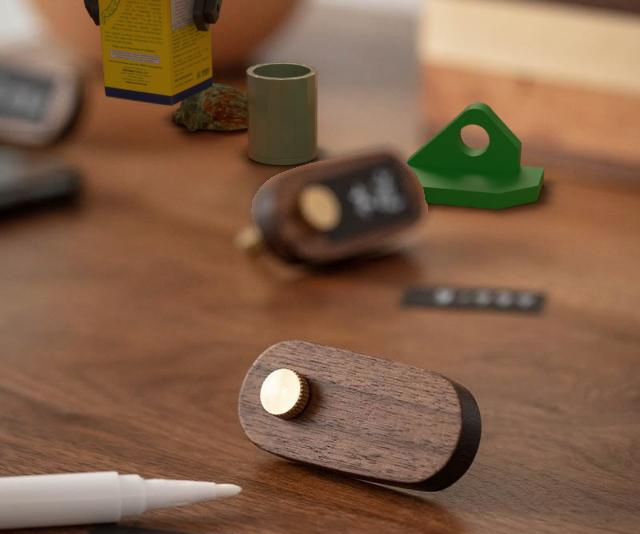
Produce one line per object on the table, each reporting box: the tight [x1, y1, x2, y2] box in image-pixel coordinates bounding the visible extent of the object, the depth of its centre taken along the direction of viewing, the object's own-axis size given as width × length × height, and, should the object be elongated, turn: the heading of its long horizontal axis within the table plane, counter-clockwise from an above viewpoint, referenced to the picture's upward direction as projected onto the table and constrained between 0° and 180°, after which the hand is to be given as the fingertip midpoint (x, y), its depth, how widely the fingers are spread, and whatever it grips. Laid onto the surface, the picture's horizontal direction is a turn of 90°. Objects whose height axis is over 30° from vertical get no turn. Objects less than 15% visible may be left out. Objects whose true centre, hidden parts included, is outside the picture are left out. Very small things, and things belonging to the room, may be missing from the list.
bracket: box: [406, 101, 545, 210], centre depth 112 cm, size 12×8×7 cm, turn 75°
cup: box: [245, 61, 319, 166], centre depth 121 cm, size 6×6×8 cm
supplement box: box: [98, 0, 214, 107], centre depth 94 cm, size 6×6×11 cm
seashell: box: [171, 82, 247, 133], centre depth 132 cm, size 10×4×10 cm
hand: (148, 22), depth 92 cm, fingers closed on supplement box, 7 cm apart
